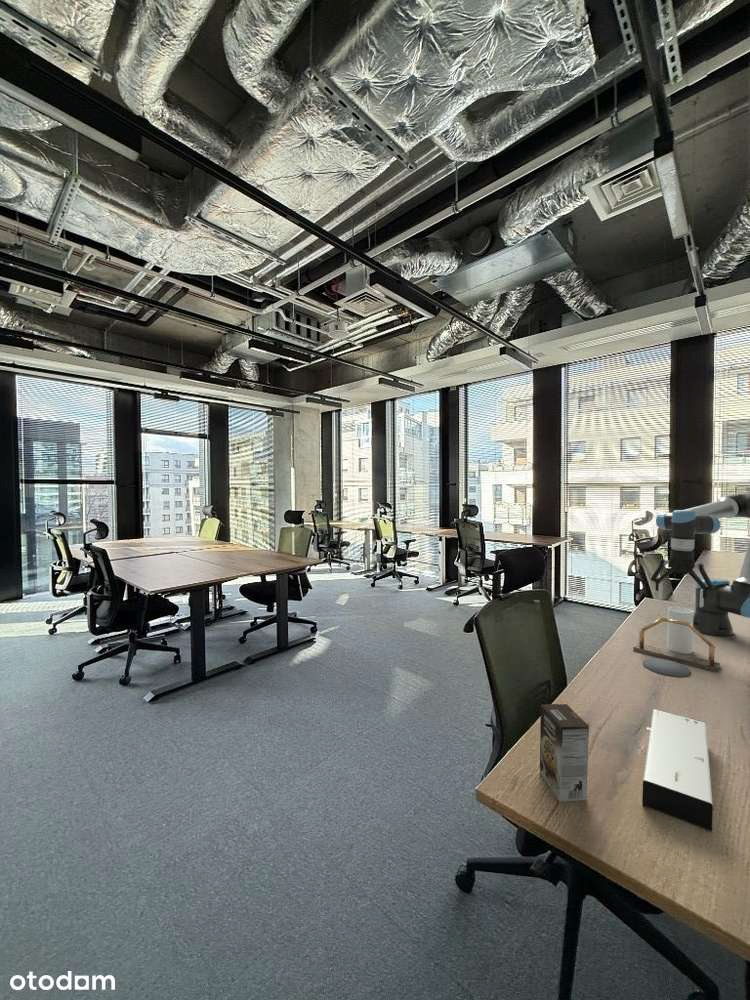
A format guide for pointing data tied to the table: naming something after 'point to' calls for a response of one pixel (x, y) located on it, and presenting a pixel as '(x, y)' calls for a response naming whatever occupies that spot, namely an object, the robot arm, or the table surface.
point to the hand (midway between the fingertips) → (680, 602)
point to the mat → (666, 667)
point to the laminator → (678, 769)
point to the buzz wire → (678, 656)
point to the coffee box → (564, 752)
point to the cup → (680, 630)
